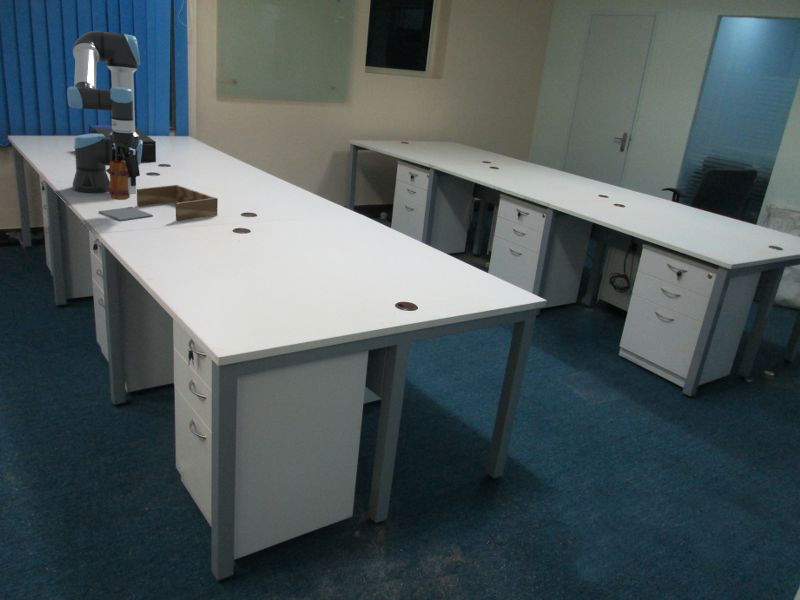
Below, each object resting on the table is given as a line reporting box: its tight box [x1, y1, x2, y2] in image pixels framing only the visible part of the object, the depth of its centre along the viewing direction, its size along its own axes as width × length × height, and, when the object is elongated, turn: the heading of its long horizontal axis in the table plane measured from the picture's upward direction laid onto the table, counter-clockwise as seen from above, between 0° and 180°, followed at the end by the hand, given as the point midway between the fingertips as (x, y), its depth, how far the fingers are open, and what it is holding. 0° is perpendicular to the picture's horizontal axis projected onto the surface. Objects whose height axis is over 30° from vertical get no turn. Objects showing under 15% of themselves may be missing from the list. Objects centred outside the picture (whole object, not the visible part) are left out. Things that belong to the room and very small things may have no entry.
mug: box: [106, 160, 131, 201], centre depth 246 cm, size 15×8×15 cm, turn 167°
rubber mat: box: [98, 206, 153, 222], centre depth 251 cm, size 14×14×1 cm
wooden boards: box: [136, 184, 219, 222], centre depth 263 cm, size 26×19×7 cm
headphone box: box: [88, 124, 157, 163], centre depth 351 cm, size 25×35×14 cm
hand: (125, 191), depth 247 cm, fingers closed on mug, 8 cm apart
